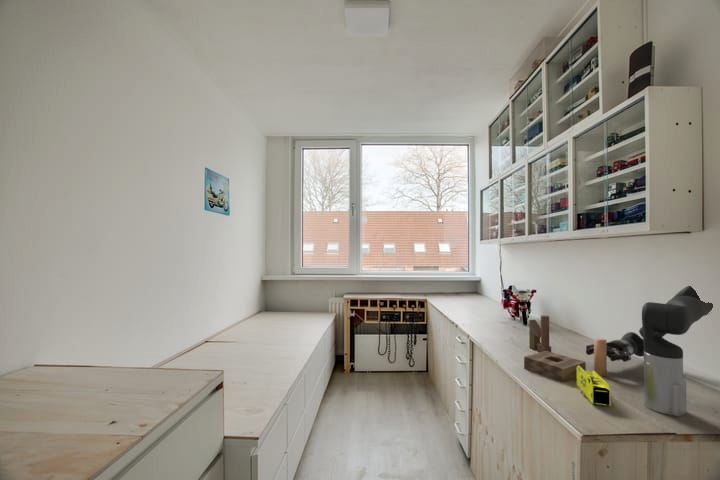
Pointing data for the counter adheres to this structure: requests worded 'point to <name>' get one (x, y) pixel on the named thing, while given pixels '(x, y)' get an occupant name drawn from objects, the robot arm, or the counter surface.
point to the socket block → (553, 365)
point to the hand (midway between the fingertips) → (599, 355)
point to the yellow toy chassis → (593, 387)
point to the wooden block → (539, 334)
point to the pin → (600, 357)
